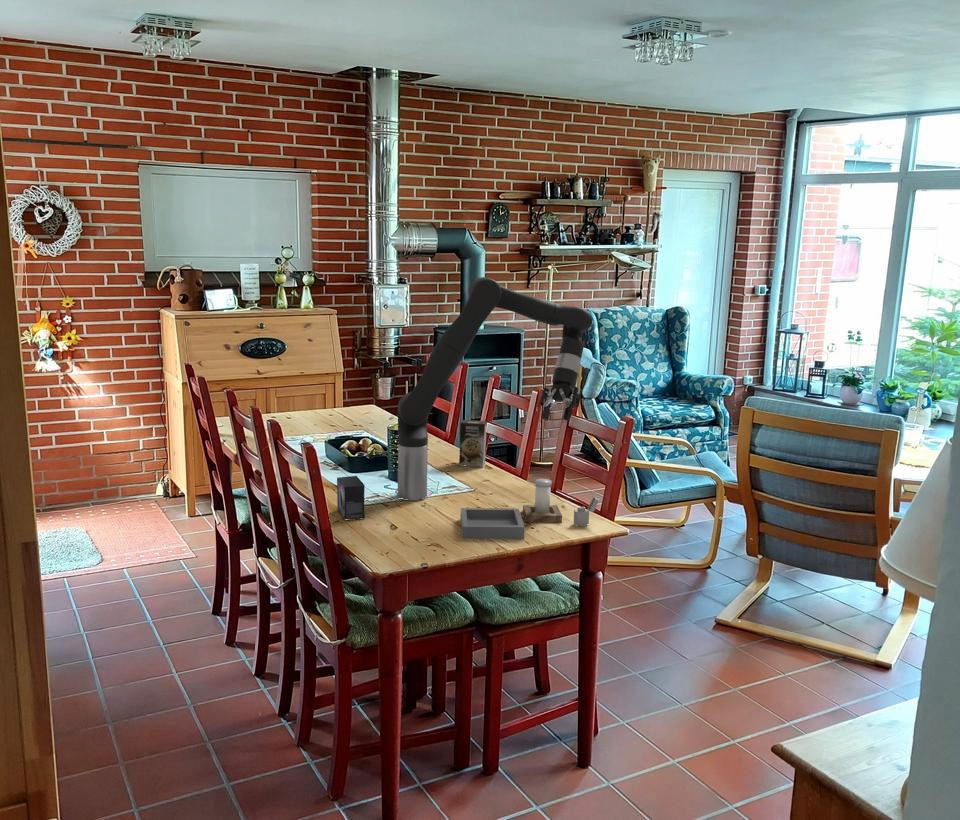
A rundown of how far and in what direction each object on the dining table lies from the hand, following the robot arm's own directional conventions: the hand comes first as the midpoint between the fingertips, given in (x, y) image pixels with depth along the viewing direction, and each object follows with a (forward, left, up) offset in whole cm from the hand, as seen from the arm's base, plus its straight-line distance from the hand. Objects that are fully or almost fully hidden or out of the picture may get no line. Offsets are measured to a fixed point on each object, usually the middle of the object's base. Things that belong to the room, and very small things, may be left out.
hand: (555, 420), depth 272 cm
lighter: (+7, -19, -27) cm, 34 cm away
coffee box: (-23, +49, -27) cm, 60 cm away
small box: (-61, -12, -27) cm, 68 cm away
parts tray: (-21, -24, -27) cm, 42 cm away
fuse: (-5, -12, -27) cm, 30 cm away
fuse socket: (-5, -12, -27) cm, 30 cm away
